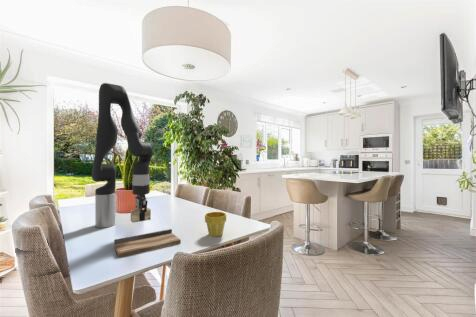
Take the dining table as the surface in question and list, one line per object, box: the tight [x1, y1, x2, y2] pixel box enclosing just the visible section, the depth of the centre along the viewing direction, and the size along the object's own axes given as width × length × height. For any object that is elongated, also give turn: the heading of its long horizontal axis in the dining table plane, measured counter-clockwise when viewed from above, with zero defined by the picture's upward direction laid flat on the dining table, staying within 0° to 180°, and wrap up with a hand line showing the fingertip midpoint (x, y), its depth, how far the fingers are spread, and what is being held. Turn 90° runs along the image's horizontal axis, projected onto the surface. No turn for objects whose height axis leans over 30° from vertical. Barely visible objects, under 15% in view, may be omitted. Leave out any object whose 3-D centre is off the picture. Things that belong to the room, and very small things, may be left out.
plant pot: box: [204, 211, 227, 237], centre depth 109 cm, size 10×10×10 cm
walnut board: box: [113, 228, 182, 258], centre depth 95 cm, size 12×24×3 cm, turn 126°
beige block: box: [130, 207, 152, 224], centre depth 107 cm, size 5×8×5 cm, turn 126°
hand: (140, 219), depth 107 cm, fingers closed on beige block, 4 cm apart
